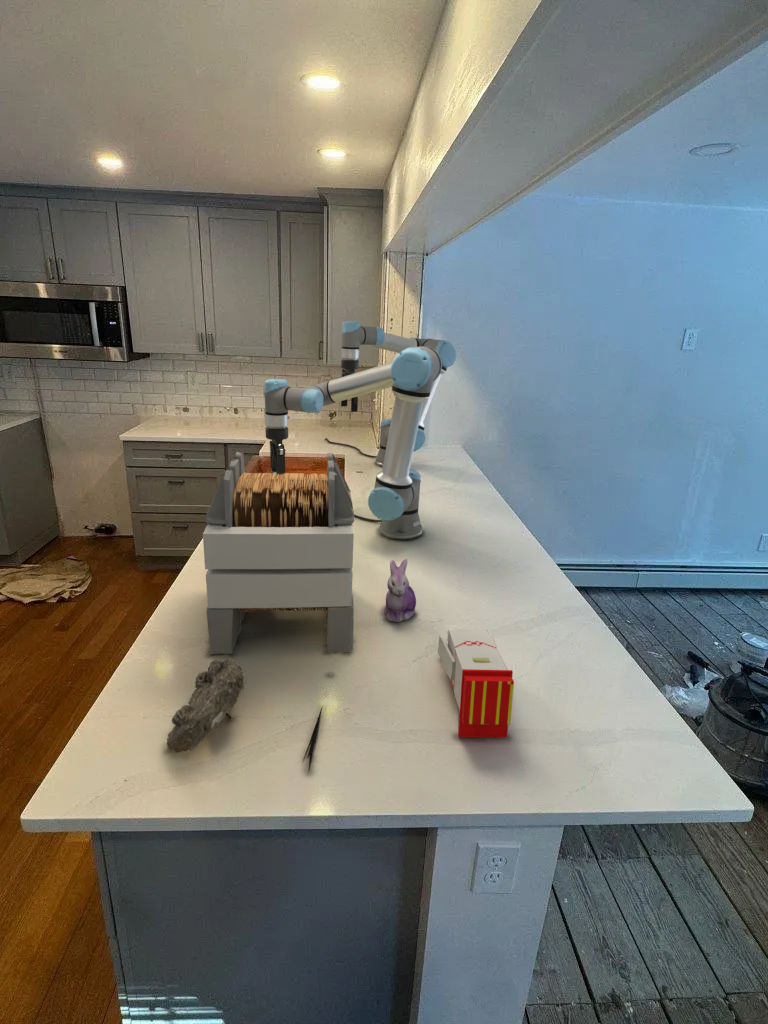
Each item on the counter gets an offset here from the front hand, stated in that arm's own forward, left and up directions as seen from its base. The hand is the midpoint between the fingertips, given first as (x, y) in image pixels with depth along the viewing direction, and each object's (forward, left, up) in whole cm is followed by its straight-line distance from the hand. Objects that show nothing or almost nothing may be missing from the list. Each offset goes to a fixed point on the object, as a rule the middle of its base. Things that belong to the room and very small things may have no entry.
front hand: (278, 492), depth 197 cm
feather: (+92, -46, -13) cm, 103 cm away
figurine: (+71, -6, -13) cm, 73 cm away
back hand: (-34, +56, +20) cm, 68 cm away
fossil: (+79, -61, -13) cm, 100 cm away
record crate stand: (+55, -31, -13) cm, 64 cm away
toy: (+104, -16, -13) cm, 106 cm away
